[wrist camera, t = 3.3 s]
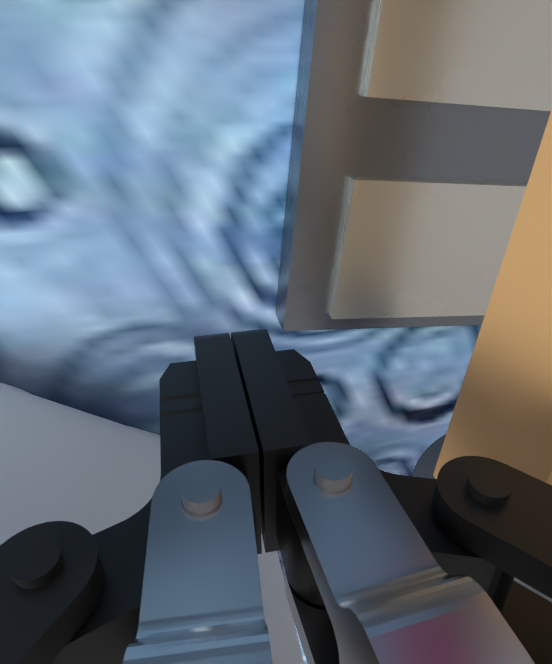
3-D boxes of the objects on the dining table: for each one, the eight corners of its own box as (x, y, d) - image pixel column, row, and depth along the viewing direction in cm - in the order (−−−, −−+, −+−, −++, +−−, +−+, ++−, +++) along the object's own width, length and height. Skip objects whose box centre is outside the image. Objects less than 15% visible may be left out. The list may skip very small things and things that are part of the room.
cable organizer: (275, 460, 21) (383, 833, 11) (157, 611, 24) (160, 998, 15) (-147, 314, 14) (-778, 893, 5) (-227, 547, 18) (-688, 1164, 8)
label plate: (319, -153, 11) (339, -177, 10) (640, -92, 13) (691, -105, 12) (275, 314, 17) (285, 335, 16) (503, 308, 19) (528, 327, 18)
